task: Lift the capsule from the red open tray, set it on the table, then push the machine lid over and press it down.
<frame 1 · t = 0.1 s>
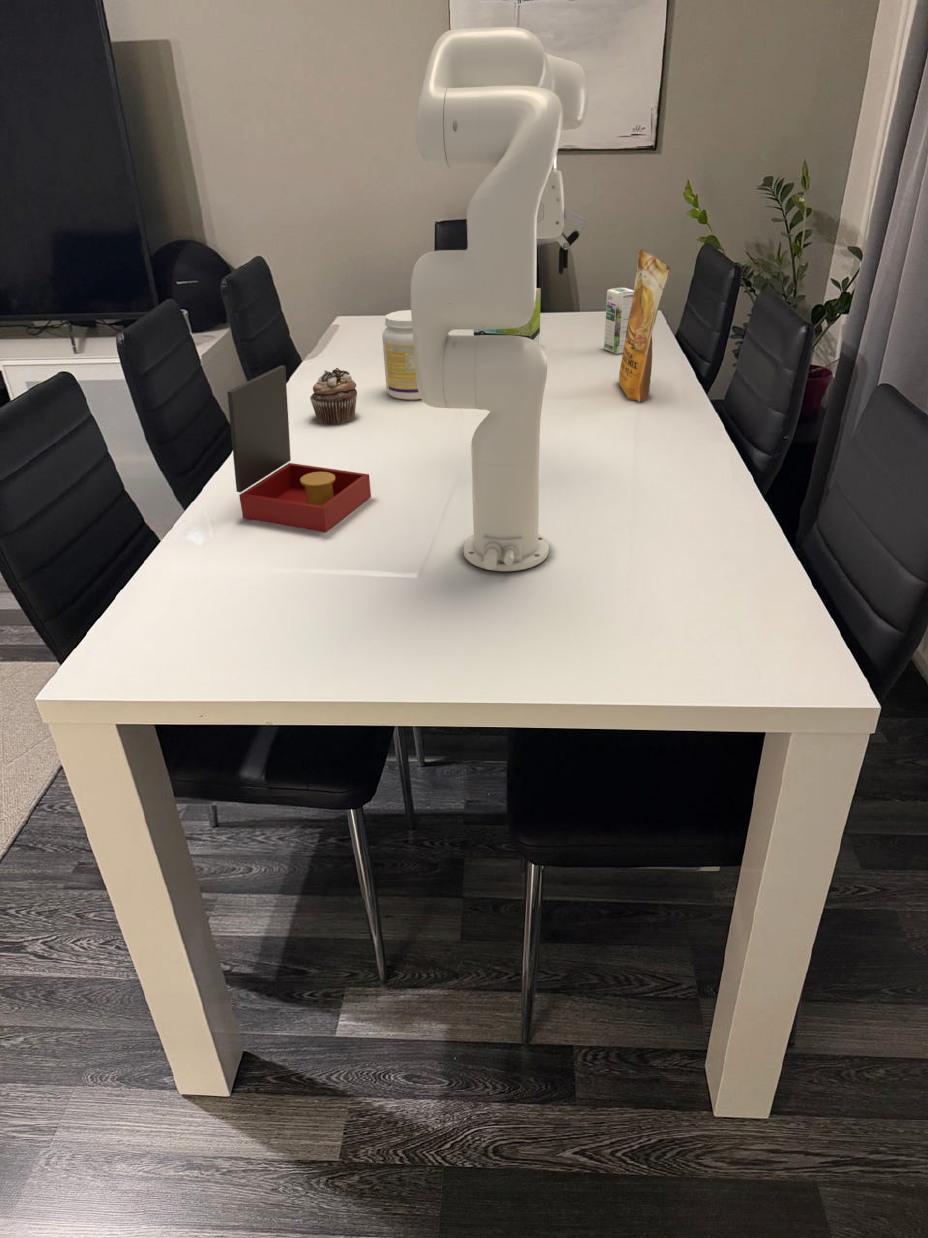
hand: (533, 272, 158), 31 cm above the table, tool pointing down, fingers open, 9 cm apart
pancake mix bag: (636, 391, 201), on the table
red open tray: (308, 511, 152), on the table
capsule: (321, 509, 150), point 1 cm above the table, touching red open tray
supplement tub: (413, 393, 205), on the table
cupcake: (336, 419, 192), on the table
tea box: (507, 350, 233), on the table
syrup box: (619, 350, 230), on the table
machine lid: (261, 428, 147), point 13 cm above the table, hinge at 85.0°
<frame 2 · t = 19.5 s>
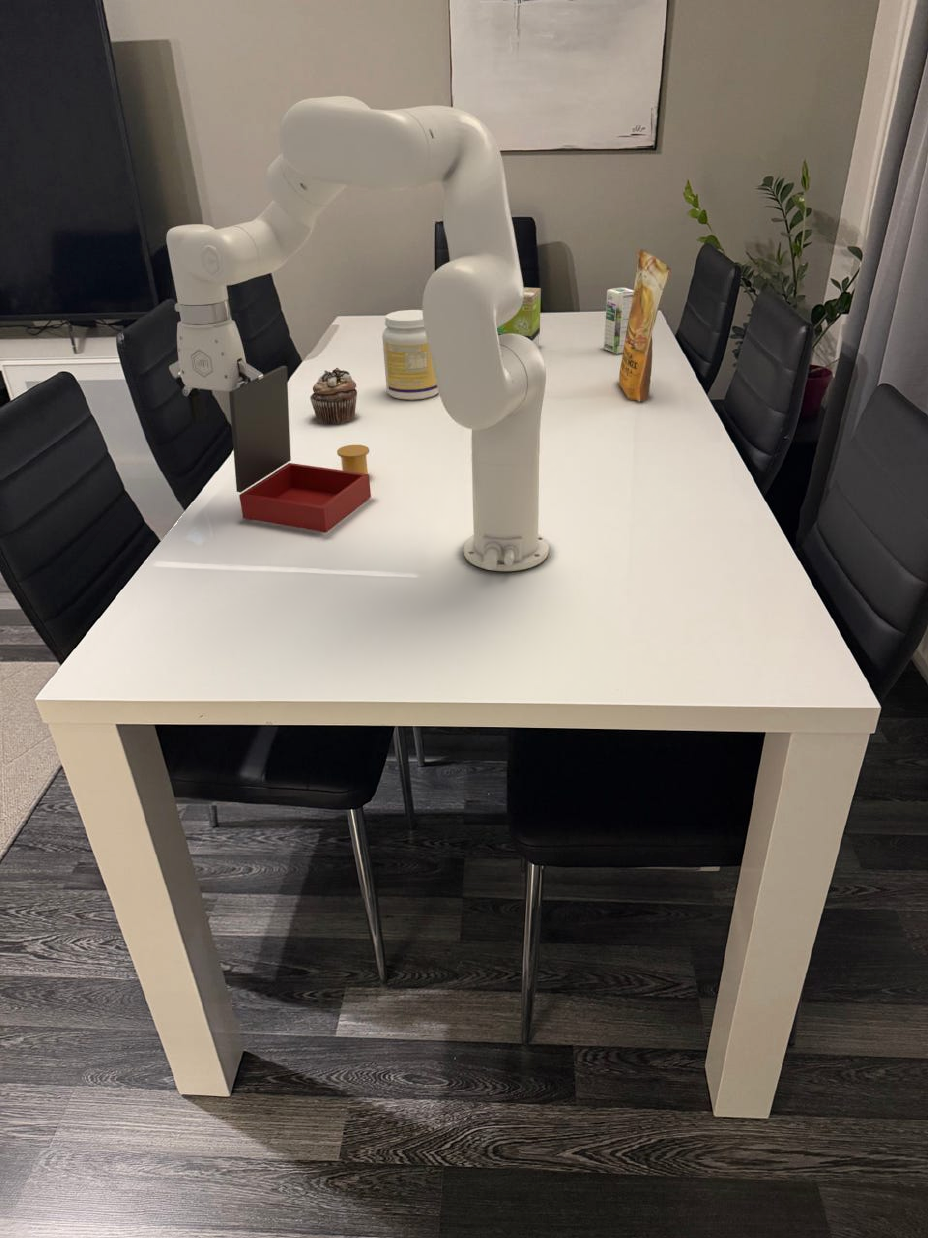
hand: (223, 420, 149), 14 cm above the table, tool pointing down, fingers open, 9 cm apart
capsule: (355, 479, 163), on the table
machine lid: (261, 428, 147), point 13 cm above the table, hinge at 83.9°, touching gripper
everything else where it was.
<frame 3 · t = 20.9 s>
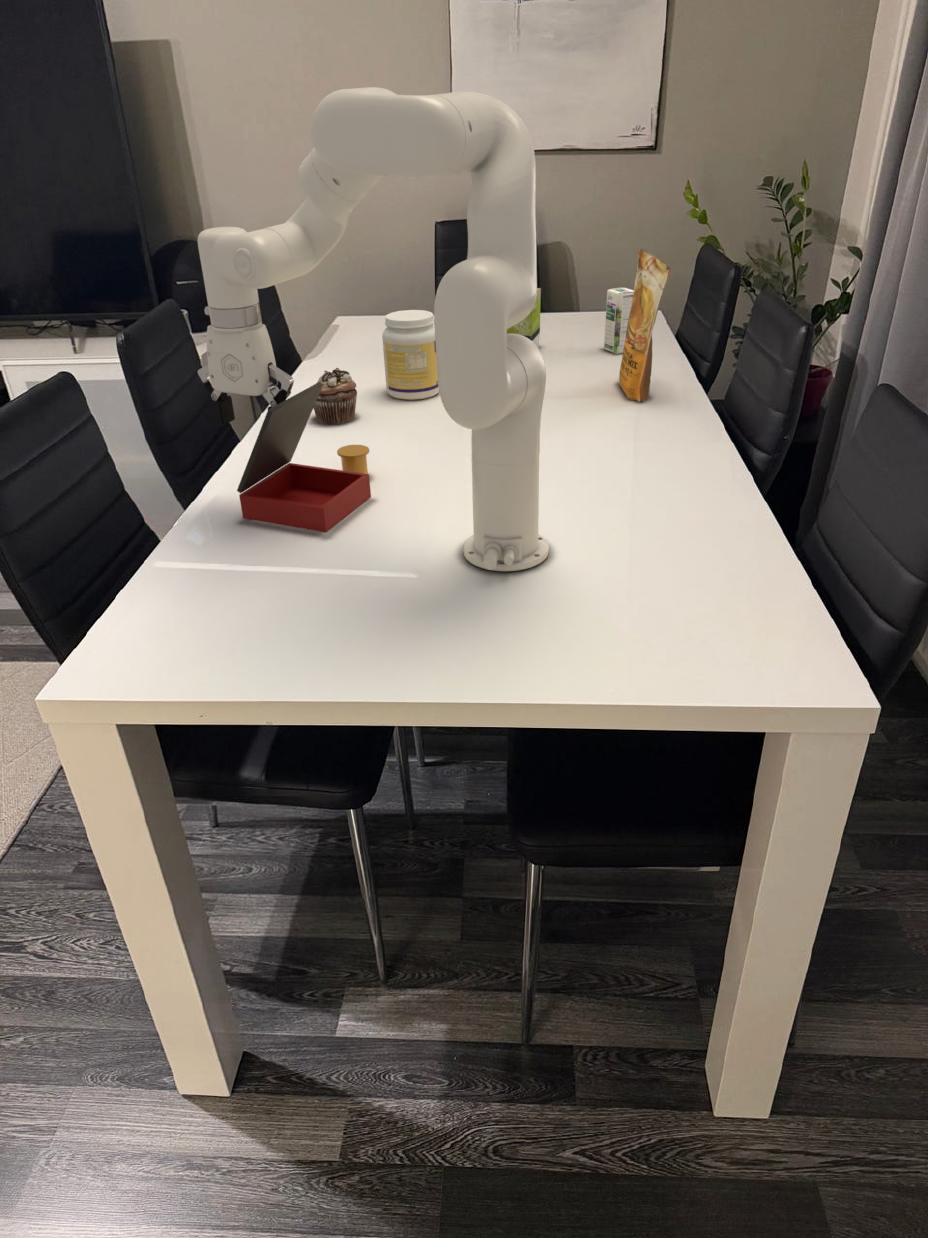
hand: (252, 425, 148), 14 cm above the table, tool pointing down, fingers open, 9 cm apart
machine lid: (280, 437, 146), point 12 cm above the table, hinge at 59.5°, touching gripper
everything else where it was.
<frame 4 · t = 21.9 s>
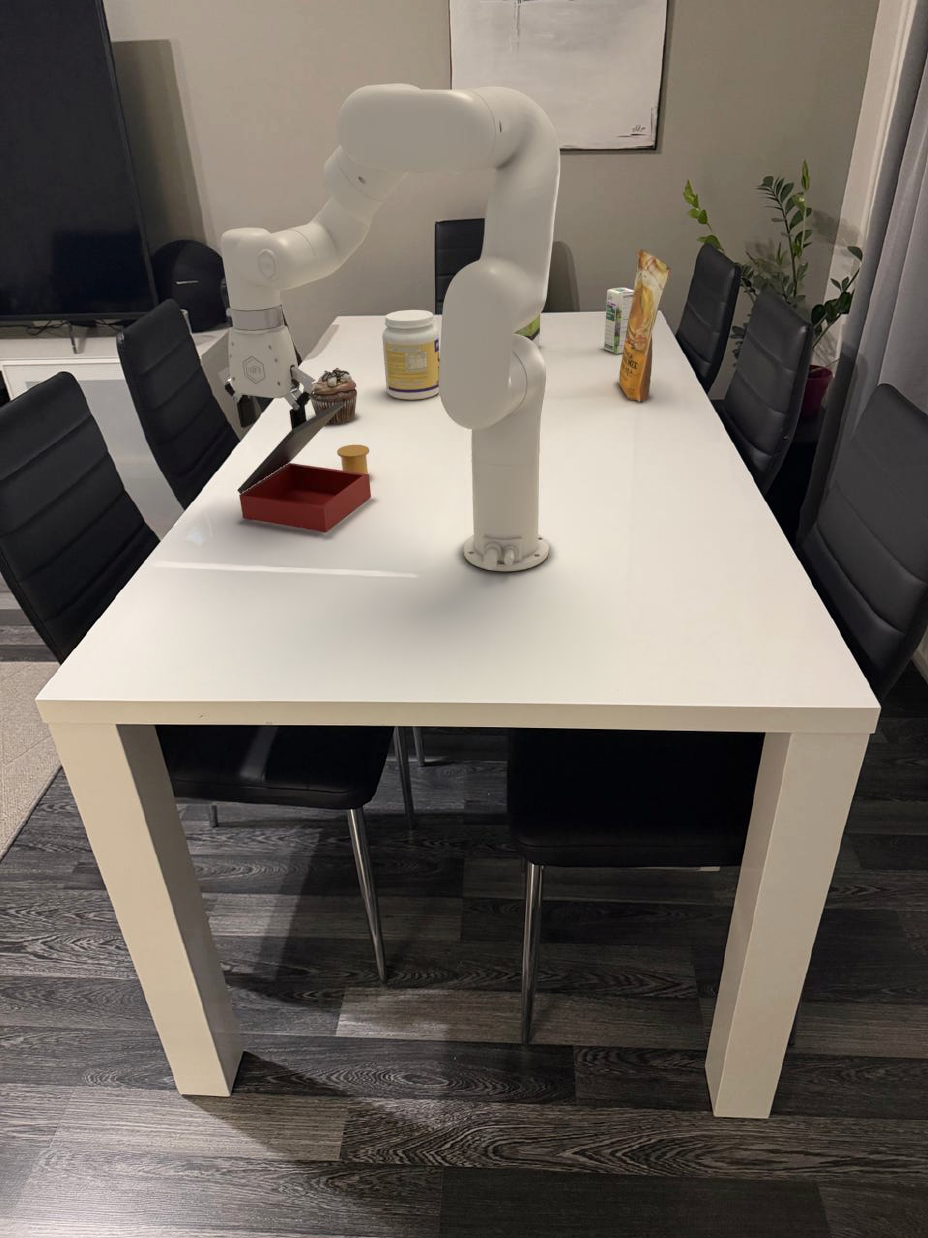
hand: (273, 428, 146), 14 cm above the table, tool pointing down, fingers open, 9 cm apart
machine lid: (290, 447, 147), point 11 cm above the table, hinge at 43.6°
everything else where it was.
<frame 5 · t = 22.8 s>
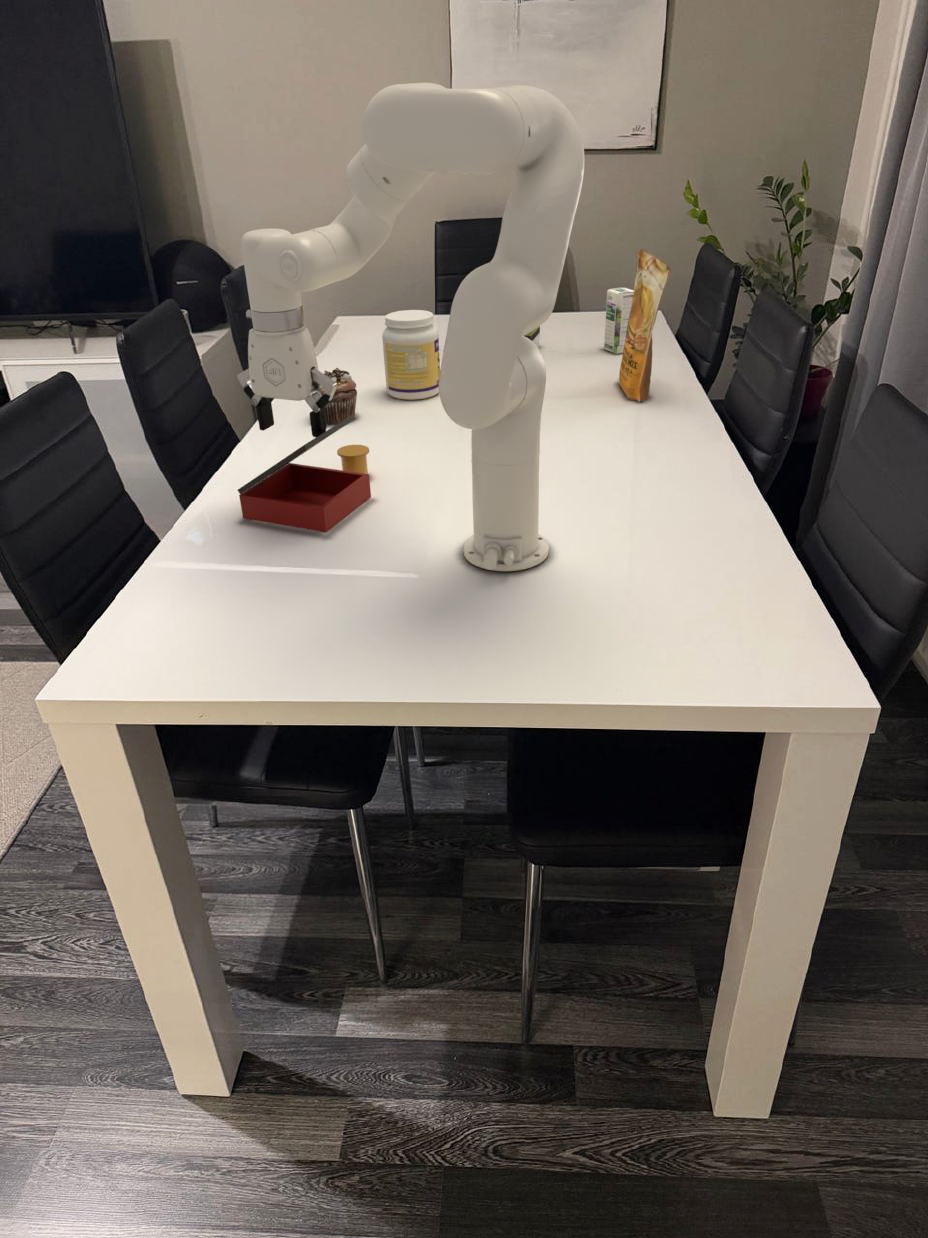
hand: (293, 430, 145), 14 cm above the table, tool pointing down, fingers open, 9 cm apart
machine lid: (296, 454, 147), point 10 cm above the table, hinge at 33.7°, touching gripper
everything else where it was.
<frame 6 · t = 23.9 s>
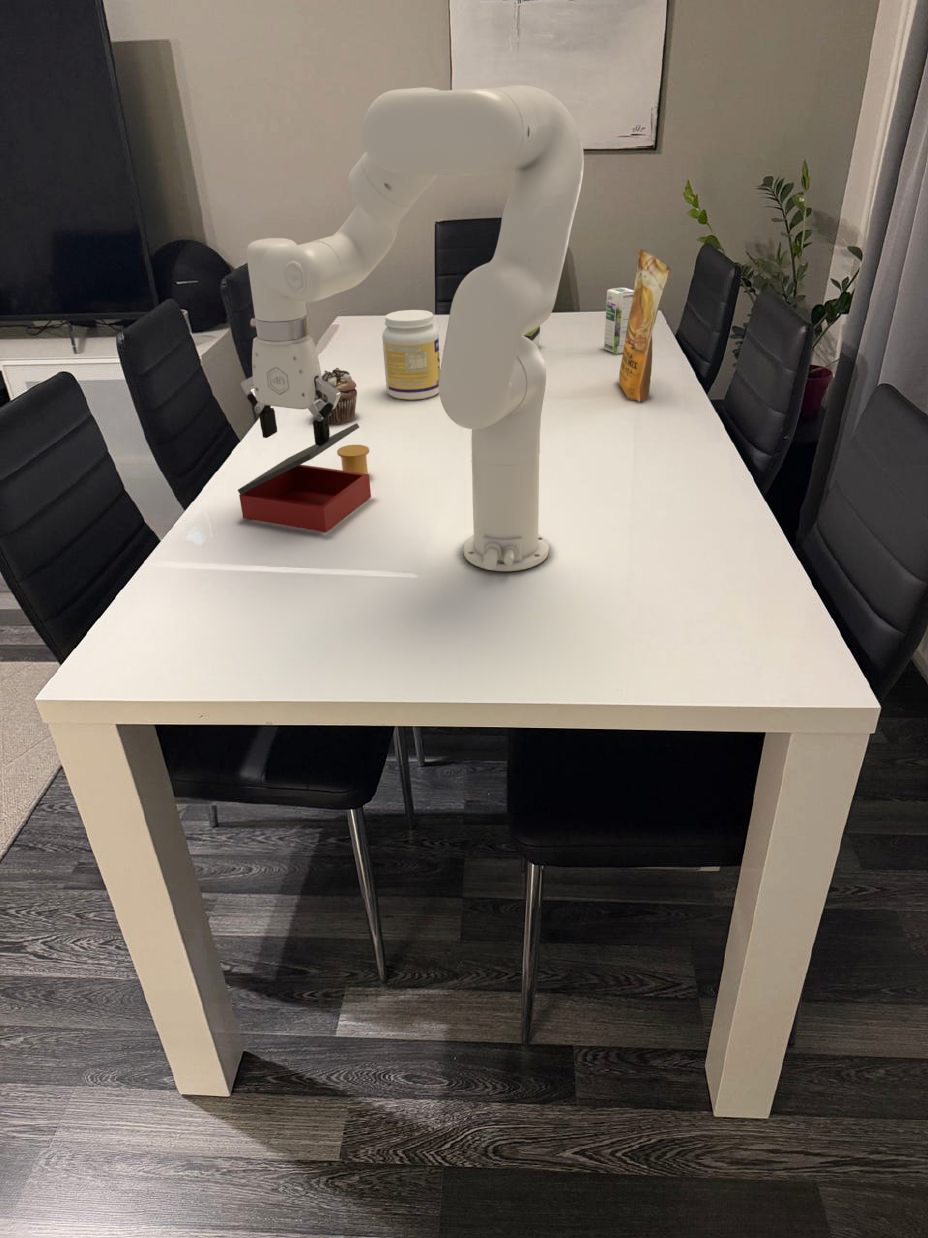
hand: (296, 438, 145), 12 cm above the table, tool pointing down, fingers open, 9 cm apart
machine lid: (298, 458, 147), point 9 cm above the table, hinge at 28.5°, touching gripper
everything else where it was.
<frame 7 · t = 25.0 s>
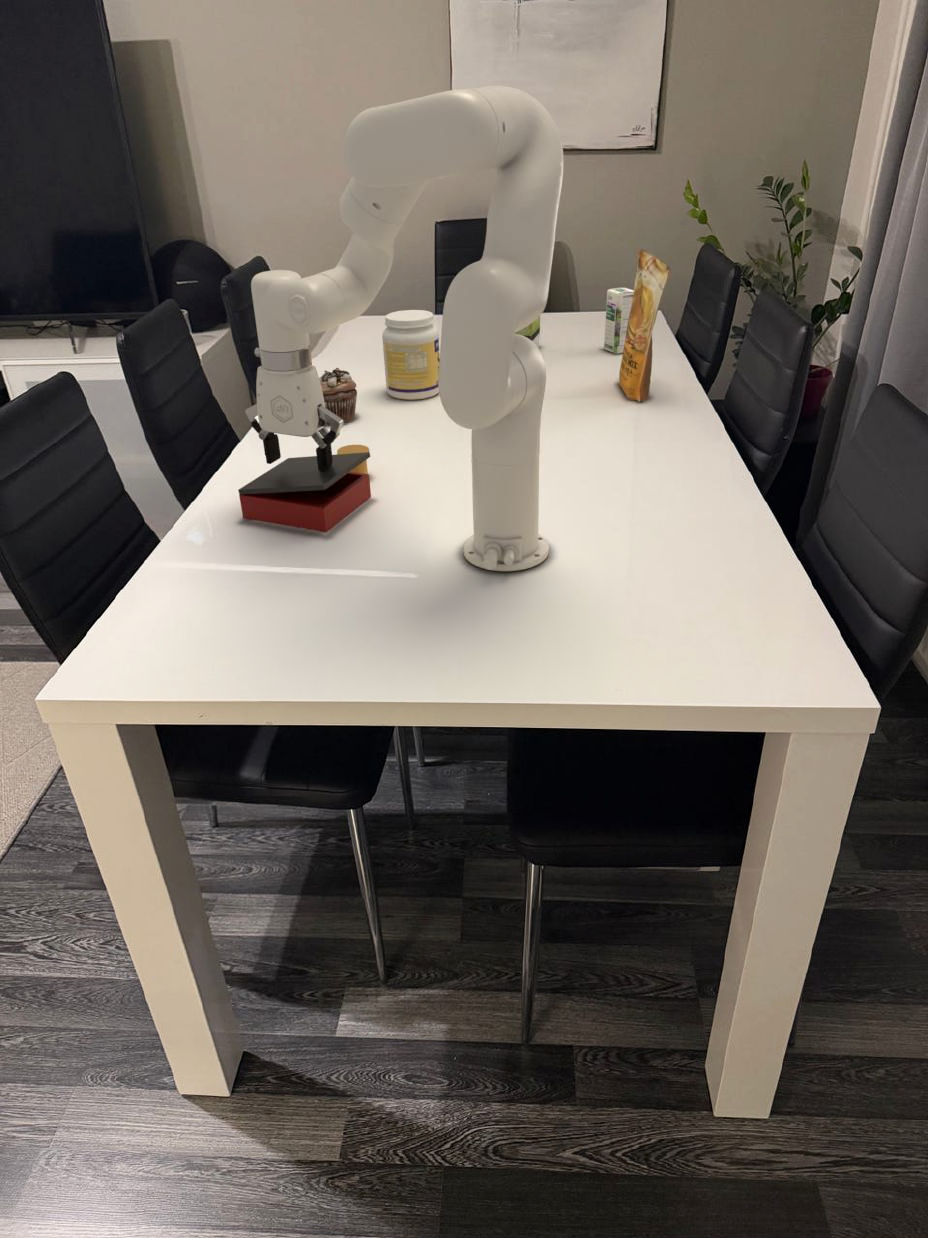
hand: (299, 464, 148), 8 cm above the table, tool pointing down, fingers open, 9 cm apart
machine lid: (305, 472, 148), point 7 cm above the table, hinge at 10.8°, touching gripper
everything else where it was.
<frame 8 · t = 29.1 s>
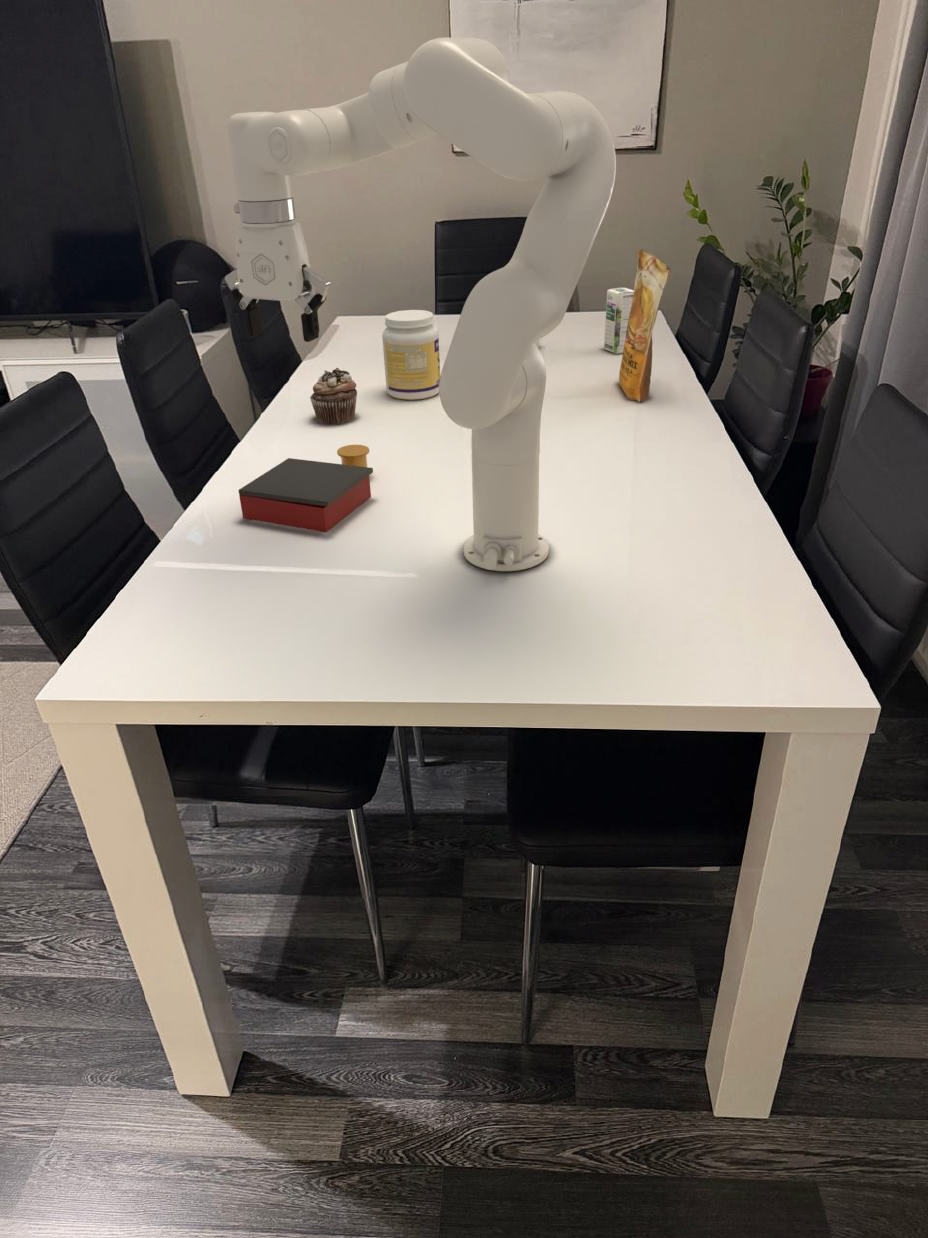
hand: (283, 337, 137), 28 cm above the table, tool pointing down, fingers open, 9 cm apart
machine lid: (307, 480, 149), point 5 cm above the table, hinge at 1.3°
everything else where it was.
at the end: capsule inside the target area (0.1 cm from its centre), on the table; capsule tilted 0°; machine lid at +1° (first picture: +85°) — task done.
